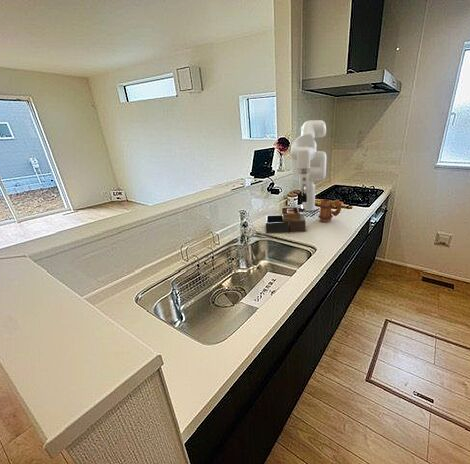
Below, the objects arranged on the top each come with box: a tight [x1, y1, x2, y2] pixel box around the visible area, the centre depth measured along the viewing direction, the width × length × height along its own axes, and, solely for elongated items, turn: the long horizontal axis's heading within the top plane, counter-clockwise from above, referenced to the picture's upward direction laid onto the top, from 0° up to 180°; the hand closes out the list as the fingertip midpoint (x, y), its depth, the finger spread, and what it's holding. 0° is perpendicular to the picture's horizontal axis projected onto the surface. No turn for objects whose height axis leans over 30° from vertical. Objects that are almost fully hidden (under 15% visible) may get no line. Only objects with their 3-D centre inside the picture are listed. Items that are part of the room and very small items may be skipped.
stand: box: [289, 213, 307, 233], centre depth 157 cm, size 12×10×7 cm
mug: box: [317, 198, 343, 223], centre depth 165 cm, size 15×8×15 cm, turn 74°
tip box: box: [281, 204, 306, 222], centre depth 154 cm, size 13×13×7 cm
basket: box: [265, 214, 290, 234], centre depth 157 cm, size 14×14×7 cm
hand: (302, 199), depth 151 cm, fingers open, 9 cm apart
